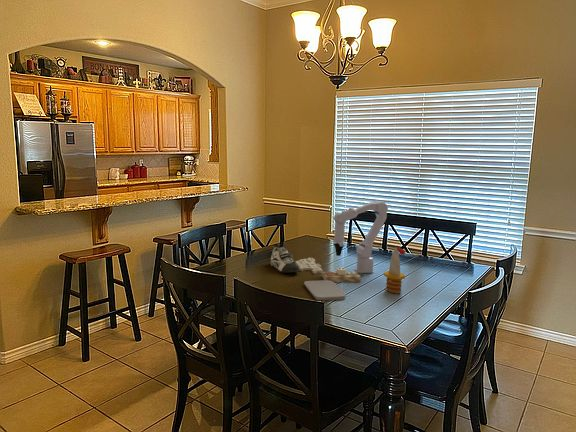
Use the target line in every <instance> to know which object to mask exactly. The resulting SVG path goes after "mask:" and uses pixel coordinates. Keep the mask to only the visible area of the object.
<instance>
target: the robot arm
mask: <svg viewBox="0 0 576 432" xmlns="http://www.w3.org/2000/svg"><path fill="white" fill-rule="evenodd" d="M388 210H389V208H388V206H387V204H386V203H385V202H383V201H380V200H378V199H377V200H373V201H369V202H367V203H365V204H363V205H361V206H359V207H357V208H354V207H349V208H348V209H347V210H342V211H341V212H336V213H335V214H334V216H333V220H334V238H333V239H332V242H333V246H334V248H335V255H336V256H337V257H340V256H341V255H342V252H343V248H344V247H345V225H346V222H347V221H350V220H352V219H355V218H357V217H358V215H359V214H362V213H365V212H368V211H373V212H374V213H375V214H374V215H375V217H376V218H375V220H374V222H373V224H372V226H371V228H370V229H369V231H368V232H367V235H366V237H365V239H364V240H363V241H361V242H360V244H358V245H357V247H356V248H355V251H356V253H357V256H356V257H357V258H356V268H354V270H355V271H356V272H357V273H358V274H373V273H374V271H373V270H374V257H372V252H373V249H374V248H373V245H374V242H375V240H376V239H377V237H378V236H379V233H380V231H381V230H382V227H384V223H386V220H387V218H388V216H387V215H388Z"/></svg>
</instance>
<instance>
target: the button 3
mask: <svg viewBox="0 0 576 432" xmlns="http://www.w3.org/2000/svg"><path fill="white" fill-rule="evenodd" d="M325 272H326V274H327V275H335V273H334V272H330V271H325Z"/></svg>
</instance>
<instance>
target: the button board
mask: <svg viewBox="0 0 576 432" xmlns="http://www.w3.org/2000/svg"><path fill="white" fill-rule="evenodd" d="M326 272H327V271H323V272H322V273H321V277H322V280H330V281H333V282H334V283H349V282H350V283H353V282H354V283H355V282H356V283H357V282H358V283H359V282H361V275H360V273H358V272H357V271H356V270H355V271H353V270H352V271H351V270H350V271H349V270H348V271H347V270H346V275H338V274H337V270H334V271H333V270H332V271H329V272H334V273H335V275H327V274H326ZM347 272H355V273H356V275H347Z"/></svg>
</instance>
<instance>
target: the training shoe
mask: <svg viewBox="0 0 576 432" xmlns="http://www.w3.org/2000/svg"><path fill="white" fill-rule="evenodd" d="M293 258H294V255H293V254H291V253H289V252H288V250H287V249H286V248H285V246H284V247H280V248H279V247H276V246H275V247H273V249H272V253H271V257H270V266H271V267H273V268H275V269H276V271H278V272H279V273H288V274H289V273H297V272H300V271H299V267H298V266H297V265H296V261H294V259H293Z"/></svg>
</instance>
